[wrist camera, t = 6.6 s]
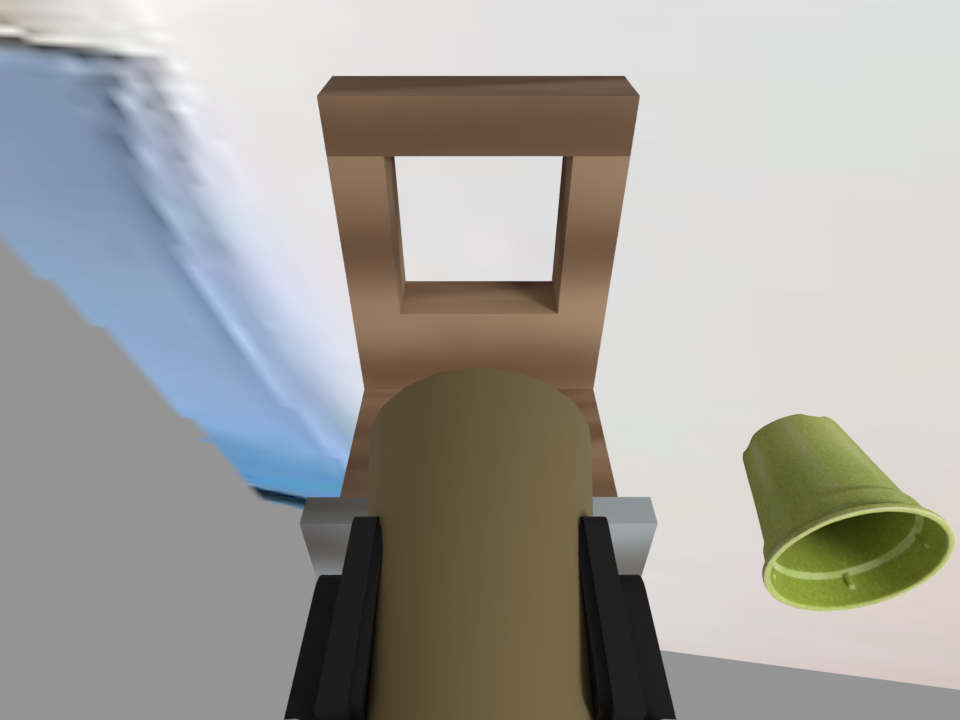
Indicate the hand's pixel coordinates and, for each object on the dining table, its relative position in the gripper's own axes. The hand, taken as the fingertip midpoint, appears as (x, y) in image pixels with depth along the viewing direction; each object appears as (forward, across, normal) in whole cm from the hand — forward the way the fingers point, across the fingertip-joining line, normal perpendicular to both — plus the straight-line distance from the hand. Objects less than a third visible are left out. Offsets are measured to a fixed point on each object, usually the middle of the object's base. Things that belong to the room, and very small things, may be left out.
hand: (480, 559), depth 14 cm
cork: (+3, 0, 0) cm, 3 cm away
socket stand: (+19, 0, +3) cm, 19 cm away
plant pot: (+19, -20, +16) cm, 32 cm away
